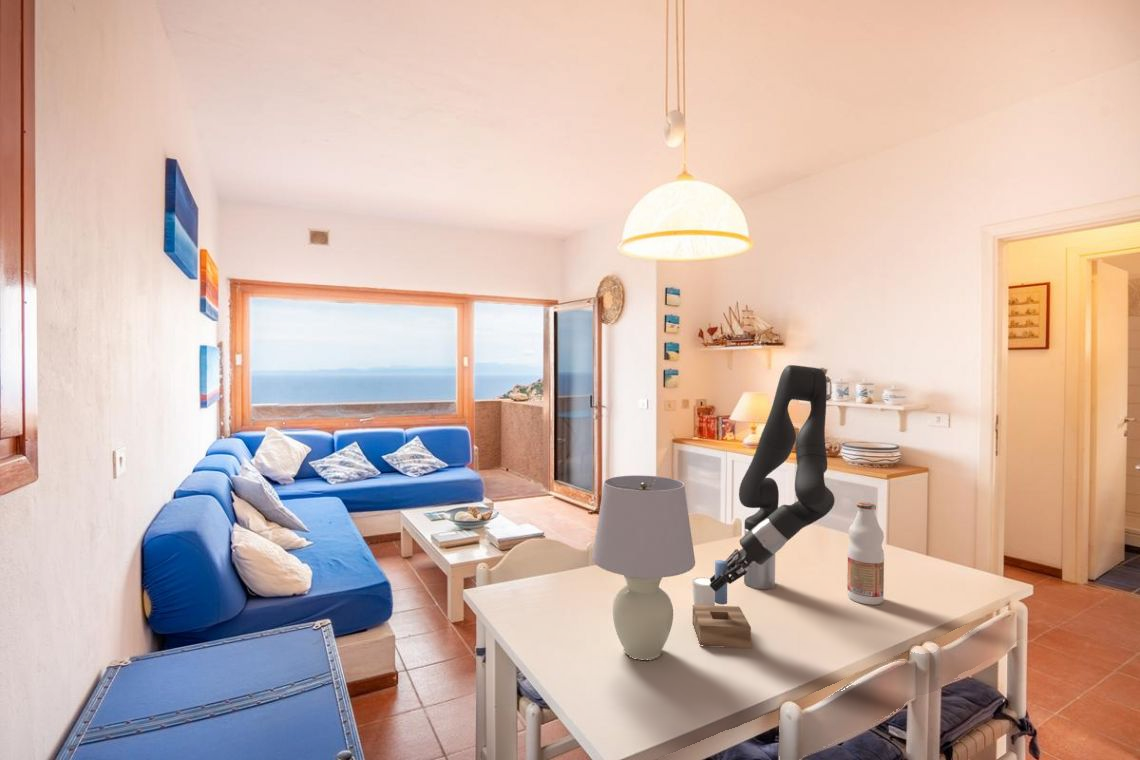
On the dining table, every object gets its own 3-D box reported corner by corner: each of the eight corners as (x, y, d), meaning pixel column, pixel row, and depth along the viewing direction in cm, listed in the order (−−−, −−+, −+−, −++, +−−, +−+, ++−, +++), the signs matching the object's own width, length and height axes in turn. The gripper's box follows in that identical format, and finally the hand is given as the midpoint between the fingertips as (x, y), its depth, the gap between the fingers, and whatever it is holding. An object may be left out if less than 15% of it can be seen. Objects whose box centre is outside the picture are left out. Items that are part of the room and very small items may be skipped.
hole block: (692, 623, 146) (692, 604, 146) (739, 625, 146) (739, 606, 146) (699, 646, 134) (700, 625, 134) (750, 648, 134) (750, 627, 134)
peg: (713, 599, 141) (713, 560, 141) (725, 599, 141) (726, 560, 141) (716, 604, 138) (716, 563, 138) (728, 604, 138) (728, 564, 138)
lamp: (622, 689, 116) (623, 497, 115) (575, 638, 138) (576, 477, 137) (716, 666, 125) (717, 488, 125) (658, 622, 147) (659, 471, 147)
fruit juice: (858, 605, 159) (859, 507, 158) (840, 592, 168) (842, 500, 168) (890, 605, 159) (891, 507, 159) (871, 592, 168) (872, 500, 168)
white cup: (702, 612, 153) (703, 587, 153) (686, 603, 159) (686, 579, 159) (721, 608, 157) (722, 583, 156) (705, 599, 163) (705, 575, 163)
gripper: (750, 522, 145) (701, 565, 148) (754, 537, 131) (701, 584, 134) (772, 544, 143) (722, 587, 146) (778, 561, 130) (723, 608, 133)
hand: (712, 585), depth 140 cm, fingers closed on peg, 3 cm apart
